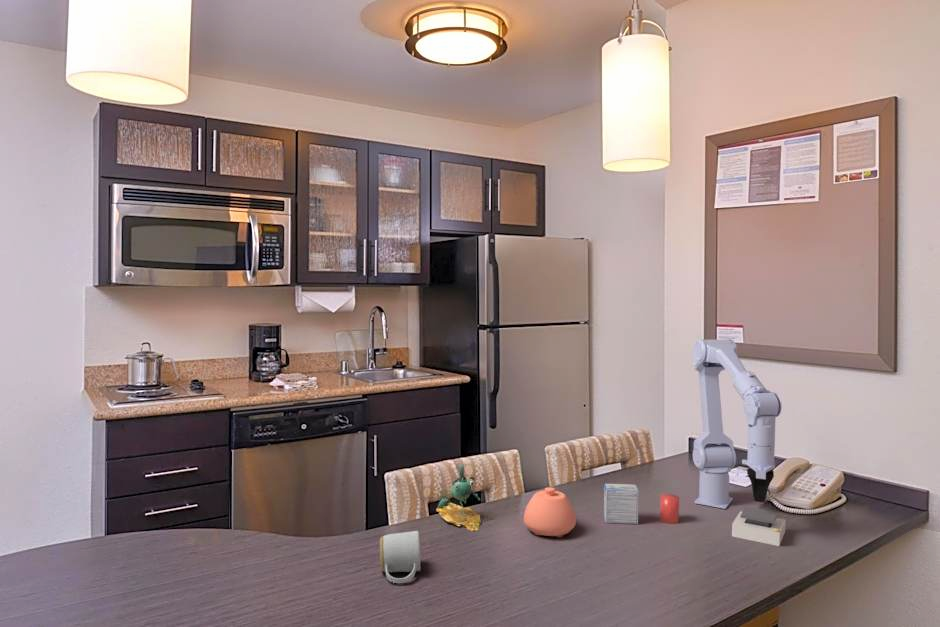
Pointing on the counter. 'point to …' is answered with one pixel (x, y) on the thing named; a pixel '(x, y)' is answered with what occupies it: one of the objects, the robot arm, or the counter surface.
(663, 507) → the cap
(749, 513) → the switch
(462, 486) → the frog figurine
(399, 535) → the ceramic mug
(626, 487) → the medicine box
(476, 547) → the counter surface
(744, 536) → the box
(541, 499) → the sugar bowl
